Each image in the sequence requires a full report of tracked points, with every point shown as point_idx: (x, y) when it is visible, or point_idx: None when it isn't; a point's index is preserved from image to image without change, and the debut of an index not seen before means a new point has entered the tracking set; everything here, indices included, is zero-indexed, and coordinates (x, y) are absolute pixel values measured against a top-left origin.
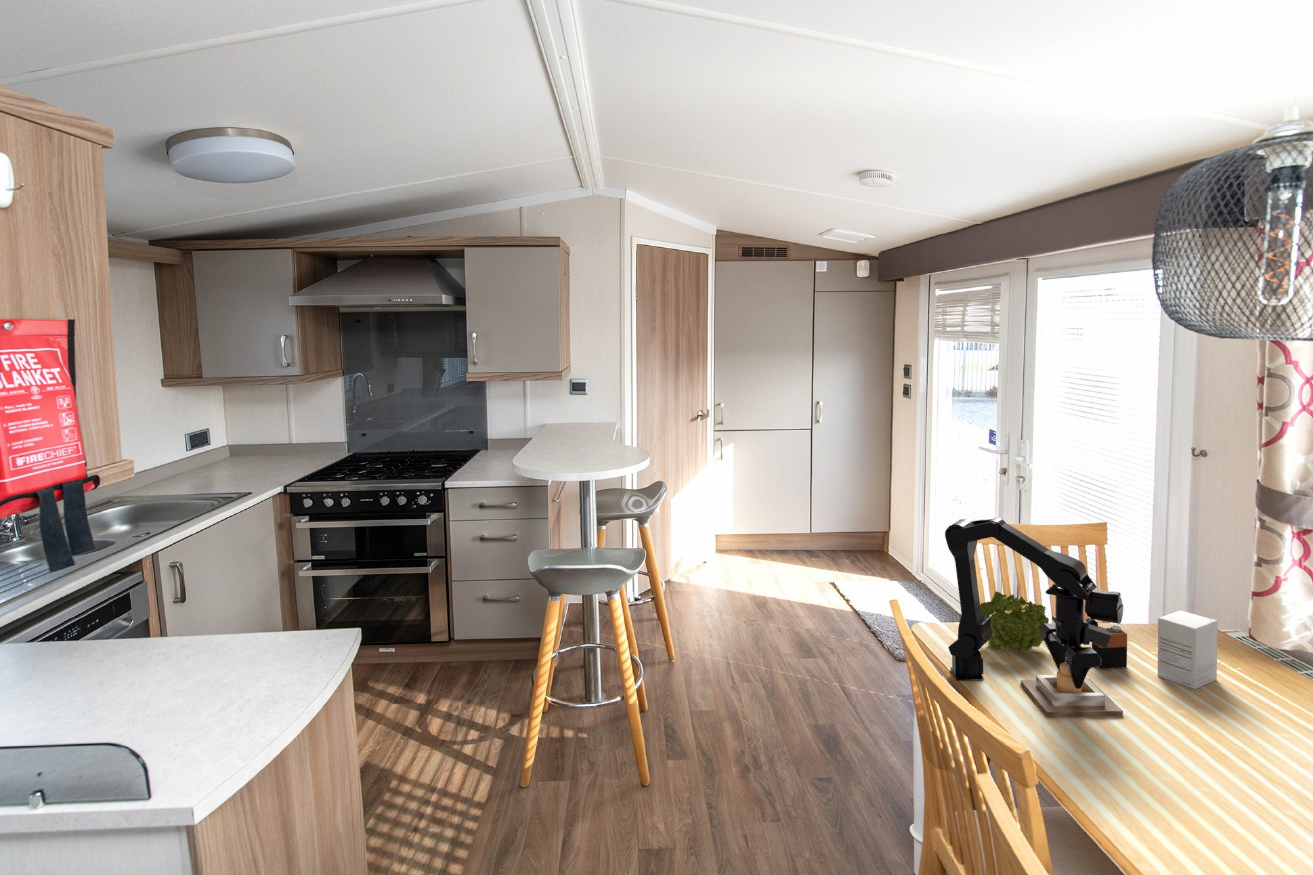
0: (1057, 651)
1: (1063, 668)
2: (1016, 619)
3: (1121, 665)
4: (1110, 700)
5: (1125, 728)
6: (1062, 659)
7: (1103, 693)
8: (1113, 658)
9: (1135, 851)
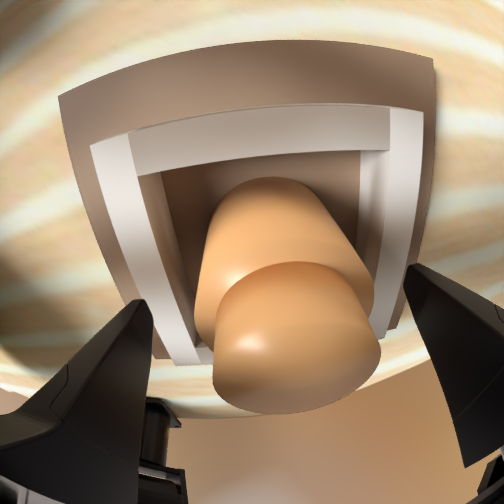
0: (116, 445)
1: (331, 400)
2: None
3: None
4: (333, 49)
5: (483, 112)
6: (119, 369)
7: (240, 50)
8: None
9: None
